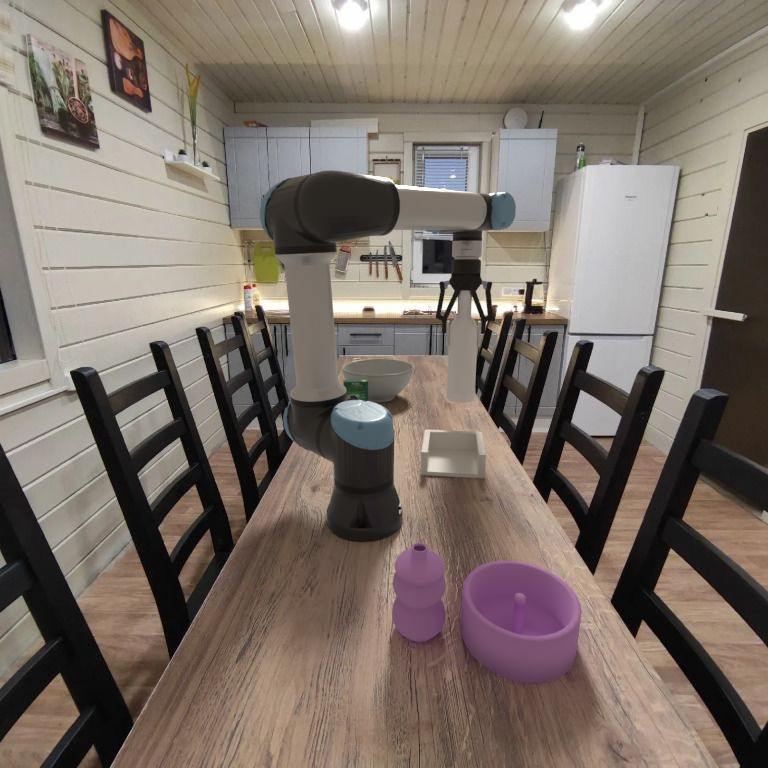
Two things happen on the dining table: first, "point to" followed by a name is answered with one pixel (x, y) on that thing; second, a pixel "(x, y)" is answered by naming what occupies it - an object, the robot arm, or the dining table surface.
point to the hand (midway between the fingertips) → (462, 345)
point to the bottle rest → (453, 454)
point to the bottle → (462, 352)
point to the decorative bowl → (380, 376)
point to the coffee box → (356, 389)
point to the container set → (493, 614)
